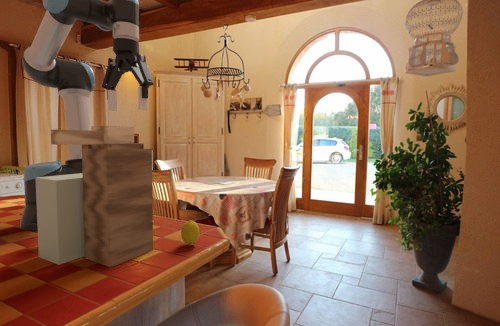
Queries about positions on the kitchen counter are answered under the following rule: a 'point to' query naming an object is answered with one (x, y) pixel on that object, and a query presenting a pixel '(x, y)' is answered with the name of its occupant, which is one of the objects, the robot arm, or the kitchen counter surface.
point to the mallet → (94, 136)
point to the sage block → (60, 217)
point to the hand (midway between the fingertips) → (127, 110)
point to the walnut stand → (117, 202)
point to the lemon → (190, 232)
